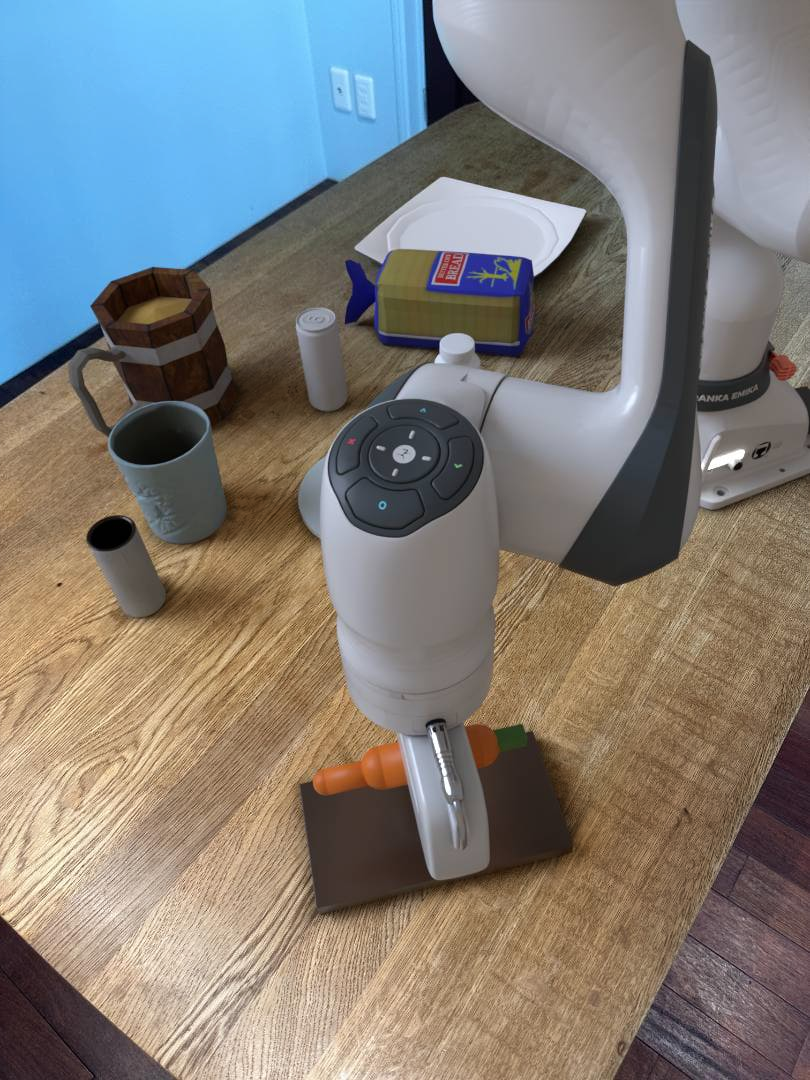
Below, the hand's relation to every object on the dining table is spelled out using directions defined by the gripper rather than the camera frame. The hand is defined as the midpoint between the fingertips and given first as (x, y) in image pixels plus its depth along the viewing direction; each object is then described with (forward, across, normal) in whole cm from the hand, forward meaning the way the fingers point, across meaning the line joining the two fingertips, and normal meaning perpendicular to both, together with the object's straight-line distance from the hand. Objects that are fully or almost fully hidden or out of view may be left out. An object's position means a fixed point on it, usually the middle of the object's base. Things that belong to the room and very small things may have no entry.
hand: (425, 762), depth 58 cm
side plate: (+10, +37, -2) cm, 38 cm away
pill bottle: (+11, +49, -15) cm, 52 cm away
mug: (+11, +58, +20) cm, 62 cm away
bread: (+10, +65, -17) cm, 68 cm away
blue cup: (+11, +40, +18) cm, 45 cm away
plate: (+10, +86, -27) cm, 91 cm away
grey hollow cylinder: (+11, +29, +23) cm, 38 cm away
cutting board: (+10, 0, 0) cm, 11 cm away
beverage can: (+11, +55, 0) cm, 56 cm away
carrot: (+1, 0, 0) cm, 1 cm away
